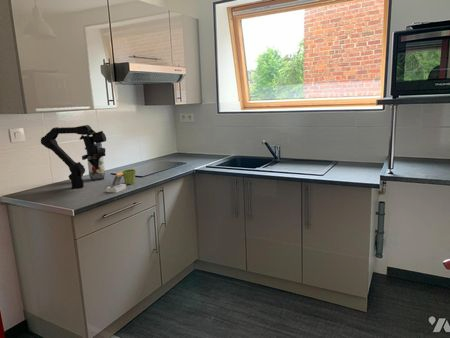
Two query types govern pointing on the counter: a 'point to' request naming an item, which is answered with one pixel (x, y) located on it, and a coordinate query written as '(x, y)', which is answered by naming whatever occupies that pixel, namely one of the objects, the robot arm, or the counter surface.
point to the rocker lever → (117, 178)
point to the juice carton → (97, 173)
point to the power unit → (116, 188)
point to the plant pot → (129, 176)
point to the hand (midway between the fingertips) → (97, 168)
